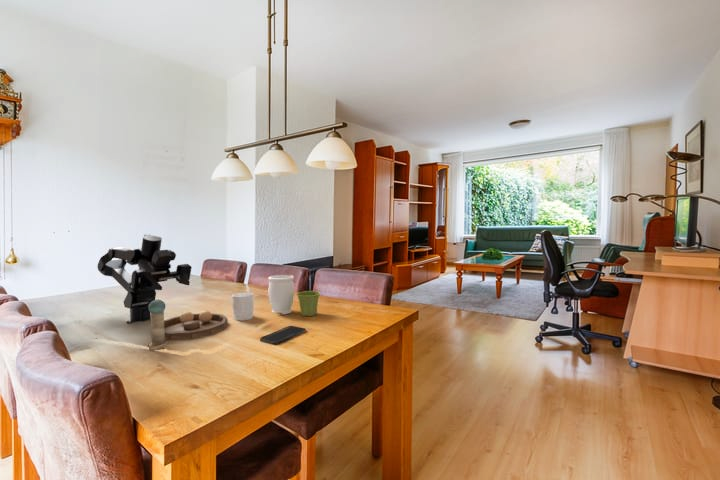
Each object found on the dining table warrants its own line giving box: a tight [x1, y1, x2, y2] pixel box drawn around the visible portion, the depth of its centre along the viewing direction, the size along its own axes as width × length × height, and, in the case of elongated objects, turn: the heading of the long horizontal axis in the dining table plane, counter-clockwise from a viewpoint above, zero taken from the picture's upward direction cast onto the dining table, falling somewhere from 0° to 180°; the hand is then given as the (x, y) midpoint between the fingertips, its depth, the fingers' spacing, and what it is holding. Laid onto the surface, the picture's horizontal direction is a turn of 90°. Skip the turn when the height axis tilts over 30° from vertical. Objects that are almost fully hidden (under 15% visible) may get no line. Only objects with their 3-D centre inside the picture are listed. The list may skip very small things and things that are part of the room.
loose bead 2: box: [199, 310, 212, 323], centre depth 122 cm, size 4×4×4 cm
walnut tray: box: [164, 312, 229, 341], centre depth 116 cm, size 22×22×3 cm
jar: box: [267, 274, 295, 316], centre depth 139 cm, size 11×10×15 cm
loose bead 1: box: [179, 311, 194, 324], centre depth 121 cm, size 4×4×4 cm
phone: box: [259, 325, 307, 346], centre depth 111 cm, size 8×1×15 cm
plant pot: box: [296, 290, 321, 317], centre depth 136 cm, size 9×9×9 cm
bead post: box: [148, 299, 169, 351], centre depth 101 cm, size 5×5×15 cm
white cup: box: [231, 291, 255, 321], centre depth 128 cm, size 8×8×10 cm
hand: (175, 286), depth 112 cm, fingers open, 9 cm apart
